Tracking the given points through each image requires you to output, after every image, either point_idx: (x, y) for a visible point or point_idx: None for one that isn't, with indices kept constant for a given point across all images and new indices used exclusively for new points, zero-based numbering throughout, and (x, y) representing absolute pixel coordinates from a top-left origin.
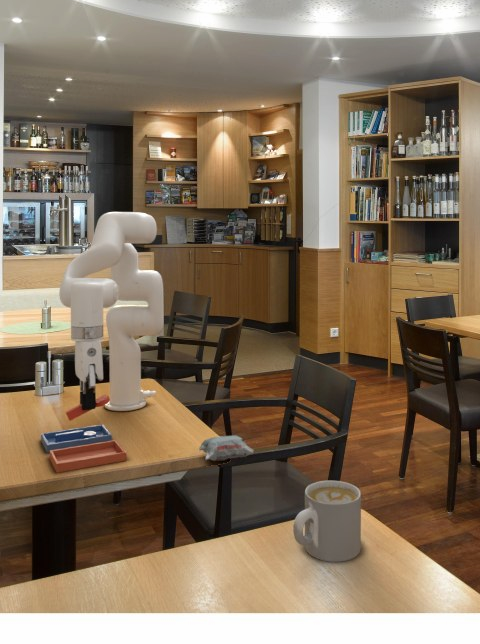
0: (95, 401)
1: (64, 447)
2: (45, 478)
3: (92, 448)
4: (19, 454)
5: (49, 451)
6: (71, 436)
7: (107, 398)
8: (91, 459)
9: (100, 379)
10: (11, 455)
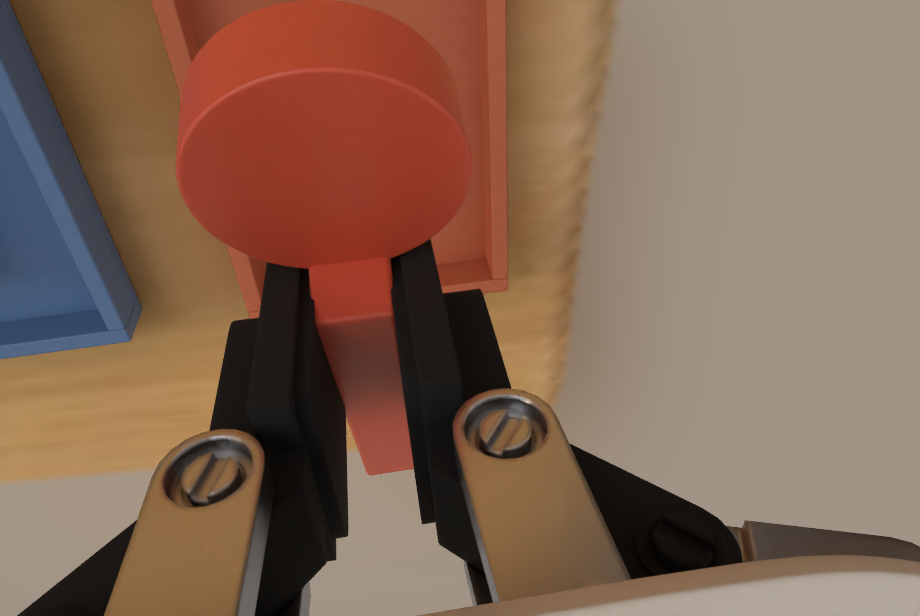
0: (437, 274)
1: (95, 222)
2: (545, 307)
3: (192, 31)
4: (139, 424)
5: (135, 300)
6: None
7: (427, 83)
8: (503, 81)
9: (772, 590)
10: (148, 452)
